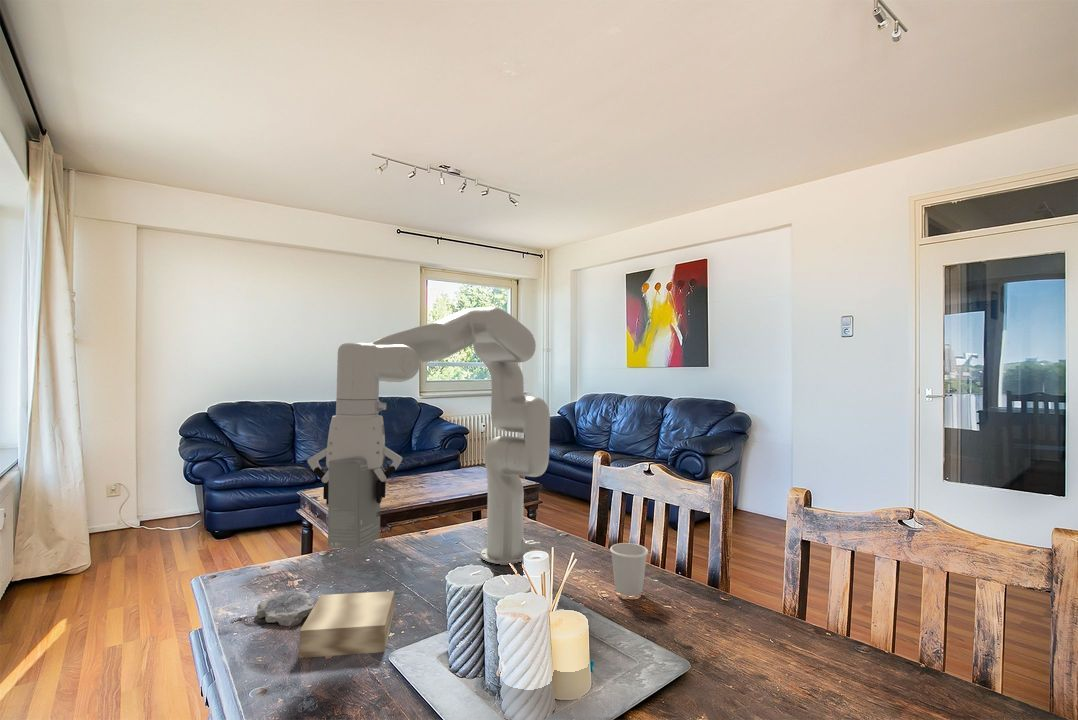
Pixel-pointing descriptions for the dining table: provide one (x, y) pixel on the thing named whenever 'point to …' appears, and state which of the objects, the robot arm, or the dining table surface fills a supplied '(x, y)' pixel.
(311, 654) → the maple block
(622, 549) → the dixie cup
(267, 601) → the grey rock
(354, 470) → the skincare box
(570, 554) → the dining table surface
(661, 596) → the dining table surface
